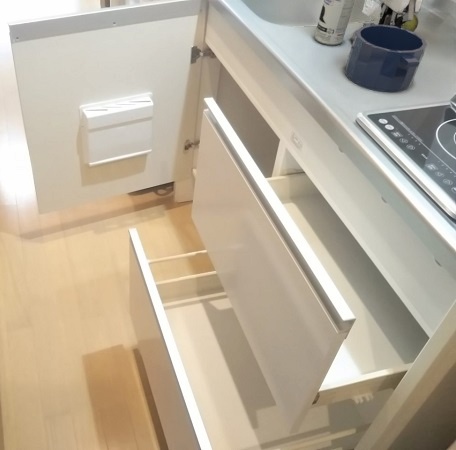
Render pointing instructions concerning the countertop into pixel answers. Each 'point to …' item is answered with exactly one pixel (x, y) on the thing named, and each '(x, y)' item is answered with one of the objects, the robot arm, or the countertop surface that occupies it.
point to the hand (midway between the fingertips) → (385, 37)
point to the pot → (384, 57)
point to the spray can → (333, 21)
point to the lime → (411, 24)
